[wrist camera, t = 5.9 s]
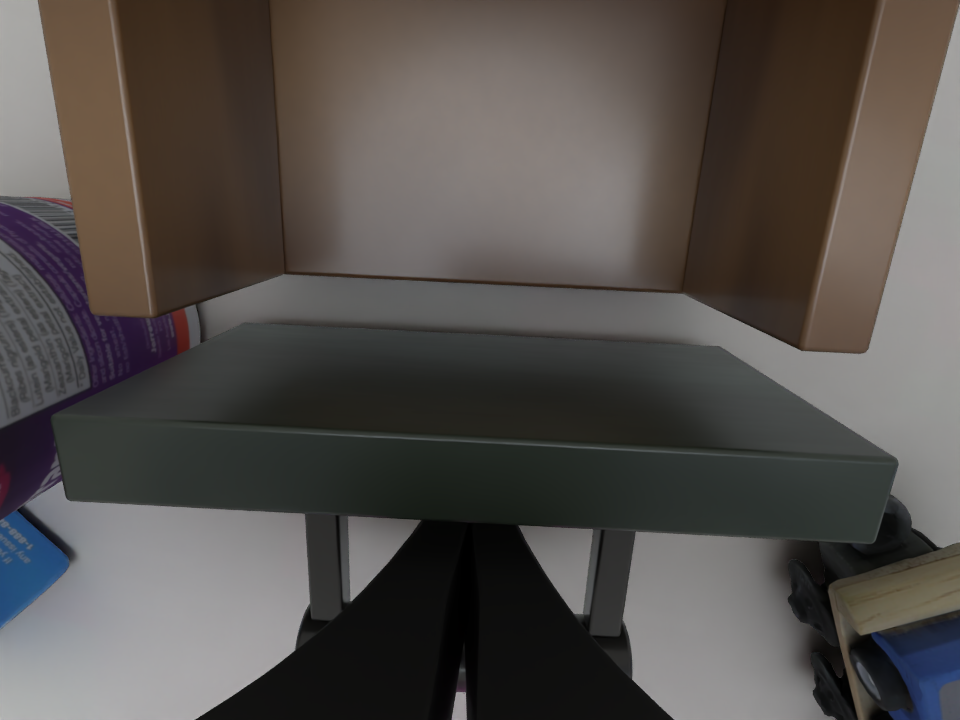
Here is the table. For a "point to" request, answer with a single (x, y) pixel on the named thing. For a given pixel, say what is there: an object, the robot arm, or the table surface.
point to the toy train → (885, 624)
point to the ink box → (25, 565)
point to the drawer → (491, 257)
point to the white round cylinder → (59, 341)
